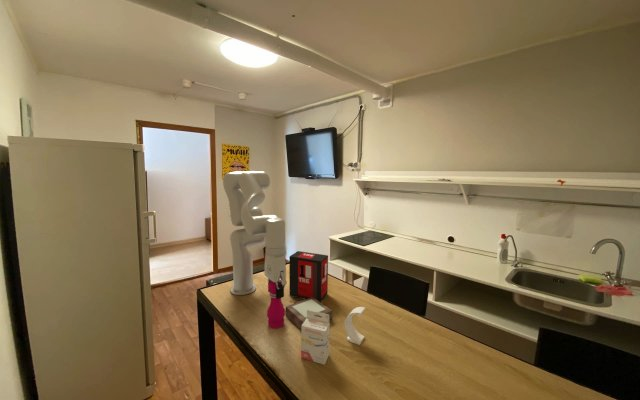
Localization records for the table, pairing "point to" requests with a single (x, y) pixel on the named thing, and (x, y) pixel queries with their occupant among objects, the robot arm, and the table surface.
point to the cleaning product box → (308, 275)
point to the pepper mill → (275, 308)
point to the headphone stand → (350, 330)
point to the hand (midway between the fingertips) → (275, 293)
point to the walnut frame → (299, 310)
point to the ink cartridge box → (315, 337)
